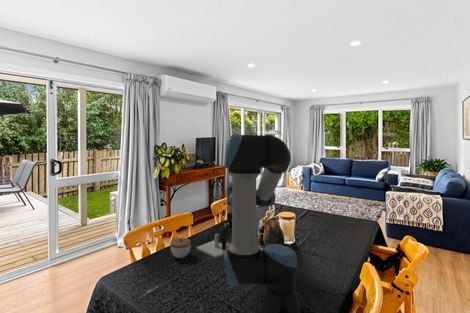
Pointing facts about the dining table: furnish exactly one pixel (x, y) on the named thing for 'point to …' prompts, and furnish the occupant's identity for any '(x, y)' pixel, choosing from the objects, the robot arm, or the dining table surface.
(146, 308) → the dining table surface
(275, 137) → the robot arm
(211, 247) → the post block
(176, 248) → the lidded jar
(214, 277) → the dining table surface
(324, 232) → the dining table surface
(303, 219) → the dining table surface
